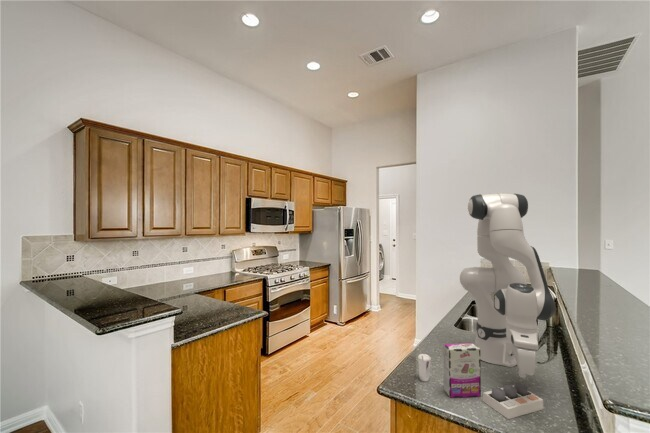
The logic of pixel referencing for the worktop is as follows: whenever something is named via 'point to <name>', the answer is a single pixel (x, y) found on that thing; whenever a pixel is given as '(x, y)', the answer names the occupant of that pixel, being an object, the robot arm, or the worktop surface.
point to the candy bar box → (462, 370)
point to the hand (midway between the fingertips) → (521, 375)
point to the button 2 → (521, 388)
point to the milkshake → (424, 367)
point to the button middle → (510, 391)
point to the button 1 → (498, 394)
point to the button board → (514, 404)
